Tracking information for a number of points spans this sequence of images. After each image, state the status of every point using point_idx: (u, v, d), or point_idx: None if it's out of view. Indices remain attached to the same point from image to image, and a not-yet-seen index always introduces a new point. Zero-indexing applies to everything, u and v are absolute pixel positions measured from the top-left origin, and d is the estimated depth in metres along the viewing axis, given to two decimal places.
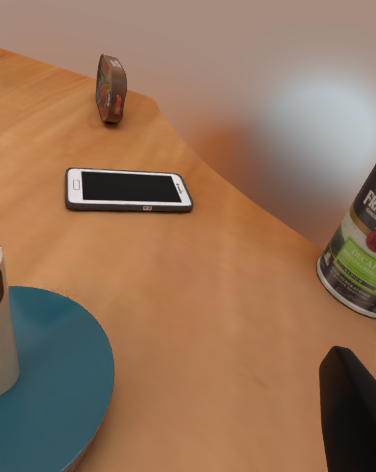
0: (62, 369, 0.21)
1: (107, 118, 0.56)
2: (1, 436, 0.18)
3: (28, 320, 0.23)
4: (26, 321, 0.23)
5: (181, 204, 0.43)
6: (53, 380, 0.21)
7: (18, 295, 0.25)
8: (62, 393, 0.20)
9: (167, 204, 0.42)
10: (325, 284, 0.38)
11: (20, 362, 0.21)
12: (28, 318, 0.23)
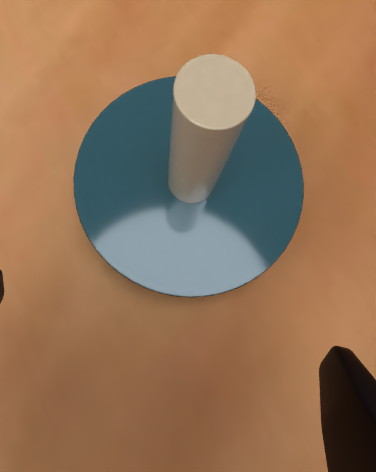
0: (253, 191, 0.21)
1: None
2: (198, 240, 0.20)
3: None
4: None
5: None
6: (244, 200, 0.21)
7: None
8: (251, 216, 0.21)
9: None
10: None
11: None
12: None
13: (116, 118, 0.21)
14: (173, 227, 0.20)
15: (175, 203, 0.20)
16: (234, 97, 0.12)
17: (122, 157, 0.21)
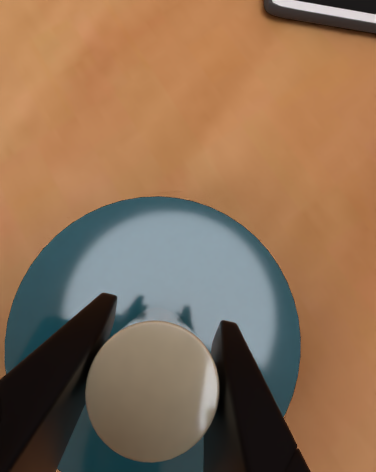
0: None
1: None
2: None
3: (201, 265, 0.17)
4: (199, 266, 0.17)
5: None
6: None
7: (191, 219, 0.17)
8: None
9: None
10: None
11: None
12: (201, 261, 0.17)
13: (63, 257, 0.17)
14: None
15: None
16: (183, 400, 0.07)
17: (68, 310, 0.16)
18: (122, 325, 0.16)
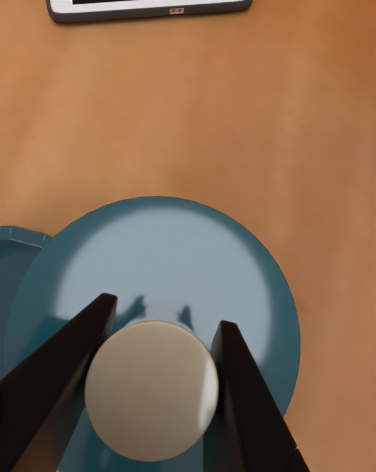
0: None
1: None
2: None
3: (201, 265, 0.17)
4: (199, 266, 0.17)
5: None
6: None
7: (191, 218, 0.17)
8: None
9: (209, 0, 0.25)
10: None
11: None
12: (201, 261, 0.17)
13: (62, 256, 0.17)
14: None
15: None
16: (182, 399, 0.07)
17: (68, 310, 0.16)
18: (122, 325, 0.16)
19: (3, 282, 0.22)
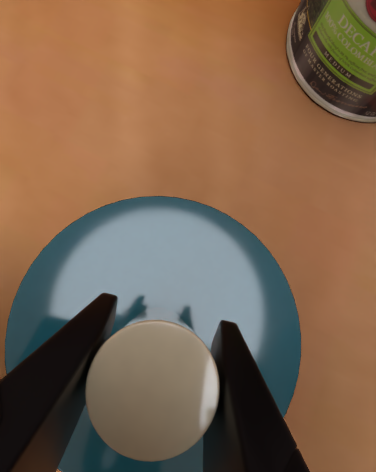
0: None
1: None
2: None
3: (201, 264, 0.17)
4: (199, 265, 0.17)
5: None
6: None
7: (191, 218, 0.17)
8: None
9: None
10: (295, 74, 0.23)
11: None
12: (201, 261, 0.17)
13: (63, 256, 0.17)
14: None
15: None
16: (183, 399, 0.07)
17: (69, 310, 0.16)
18: (122, 325, 0.16)
19: None
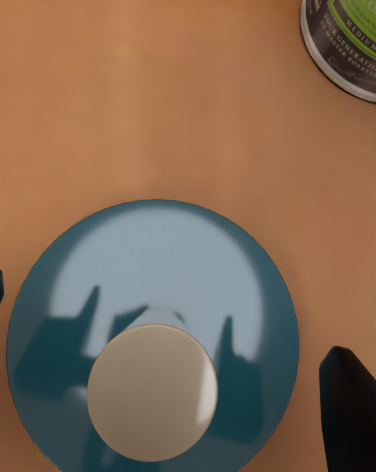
0: (235, 353, 0.17)
1: None
2: None
3: (200, 267, 0.17)
4: (198, 268, 0.17)
5: None
6: (224, 366, 0.17)
7: (190, 221, 0.18)
8: (232, 387, 0.16)
9: None
10: (311, 51, 0.21)
11: (187, 330, 0.17)
12: (200, 263, 0.17)
13: (63, 259, 0.17)
14: None
15: None
16: (183, 401, 0.08)
17: (69, 312, 0.16)
18: (122, 327, 0.16)
19: None
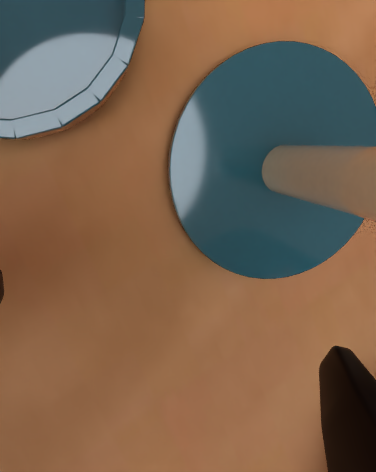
0: (317, 214, 0.22)
1: None
2: (250, 222, 0.21)
3: (342, 145, 0.21)
4: (340, 144, 0.21)
5: None
6: (305, 216, 0.22)
7: (361, 109, 0.21)
8: (300, 232, 0.22)
9: None
10: None
11: None
12: (344, 143, 0.21)
13: (272, 61, 0.19)
14: (241, 198, 0.20)
15: (257, 179, 0.20)
16: None
17: (248, 104, 0.19)
18: (271, 143, 0.20)
19: None
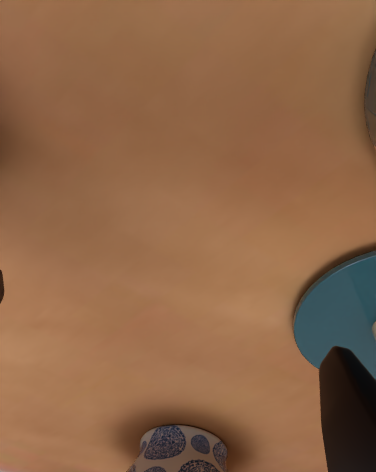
0: (359, 356, 0.27)
1: None
2: (341, 320, 0.25)
3: None
4: None
5: None
6: (356, 350, 0.27)
7: None
8: None
9: None
10: None
11: None
12: None
13: None
14: (361, 308, 0.24)
15: None
16: None
17: None
18: None
19: None
